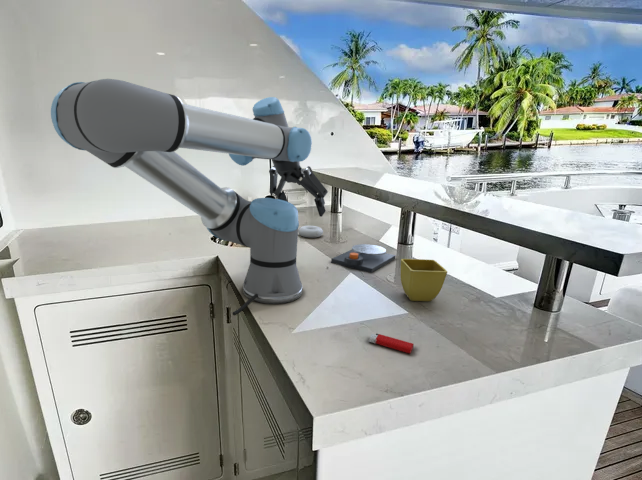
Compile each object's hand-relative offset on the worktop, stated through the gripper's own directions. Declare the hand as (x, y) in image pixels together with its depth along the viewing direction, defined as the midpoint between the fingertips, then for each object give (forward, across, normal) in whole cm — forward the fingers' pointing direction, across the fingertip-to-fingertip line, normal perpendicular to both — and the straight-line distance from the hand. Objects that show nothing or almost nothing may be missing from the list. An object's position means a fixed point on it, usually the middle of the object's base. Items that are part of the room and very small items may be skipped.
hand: (304, 211), depth 122 cm
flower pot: (+11, -40, +16) cm, 45 cm away
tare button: (+13, -17, +5) cm, 22 cm away
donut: (+26, +14, -14) cm, 33 cm away
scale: (+19, -17, 0) cm, 25 cm away
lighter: (-3, -44, +40) cm, 59 cm away
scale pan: (+18, -17, -4) cm, 25 cm away
